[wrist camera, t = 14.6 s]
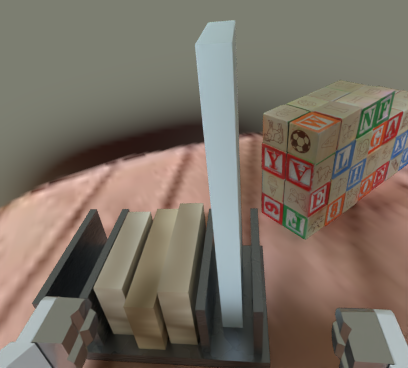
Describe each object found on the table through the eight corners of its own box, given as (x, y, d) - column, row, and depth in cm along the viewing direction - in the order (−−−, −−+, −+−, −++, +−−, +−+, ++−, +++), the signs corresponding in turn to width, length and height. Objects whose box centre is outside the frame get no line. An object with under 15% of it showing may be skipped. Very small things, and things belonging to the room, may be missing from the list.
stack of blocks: (364, 148, 46) (383, 60, 39) (409, 164, 42) (440, 68, 35) (260, 213, 36) (261, 110, 29) (305, 242, 32) (319, 130, 25)
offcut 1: (161, 255, 31) (150, 211, 28) (138, 335, 24) (121, 288, 21) (141, 255, 31) (128, 212, 28) (113, 333, 24) (93, 288, 21)
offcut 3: (208, 252, 30) (203, 203, 27) (197, 344, 23) (188, 292, 20) (188, 252, 31) (180, 203, 27) (170, 343, 23) (156, 291, 20)
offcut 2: (185, 248, 31) (179, 208, 28) (165, 349, 23) (153, 308, 20) (166, 248, 31) (157, 209, 29) (138, 348, 23) (123, 306, 20)
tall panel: (242, 265, 29) (235, 20, 18) (242, 327, 24) (232, 42, 13) (226, 265, 29) (208, 22, 18) (222, 326, 24) (195, 44, 13)
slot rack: (262, 252, 31) (263, 204, 28) (269, 370, 22) (272, 320, 19) (100, 250, 33) (82, 206, 30) (47, 356, 24) (14, 309, 21)
